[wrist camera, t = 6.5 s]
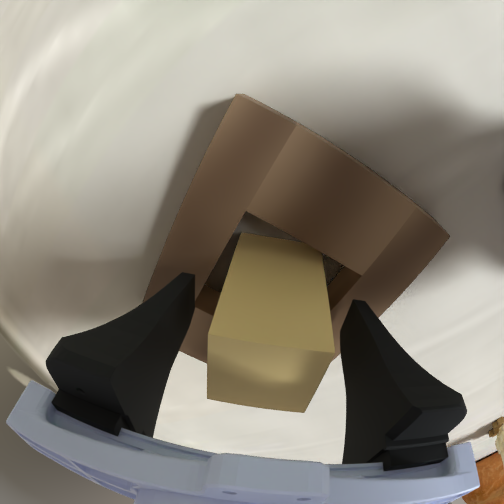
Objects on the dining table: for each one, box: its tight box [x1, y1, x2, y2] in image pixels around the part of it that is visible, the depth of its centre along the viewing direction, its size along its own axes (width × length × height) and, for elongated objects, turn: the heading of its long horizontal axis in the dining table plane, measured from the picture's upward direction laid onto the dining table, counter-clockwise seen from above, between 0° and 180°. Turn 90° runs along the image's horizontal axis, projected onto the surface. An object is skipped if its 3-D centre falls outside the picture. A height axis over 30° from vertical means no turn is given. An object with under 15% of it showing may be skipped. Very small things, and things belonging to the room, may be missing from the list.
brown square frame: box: [143, 94, 450, 363], centre depth 15 cm, size 11×14×2 cm
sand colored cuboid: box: [207, 232, 335, 413], centre depth 13 cm, size 4×4×7 cm
